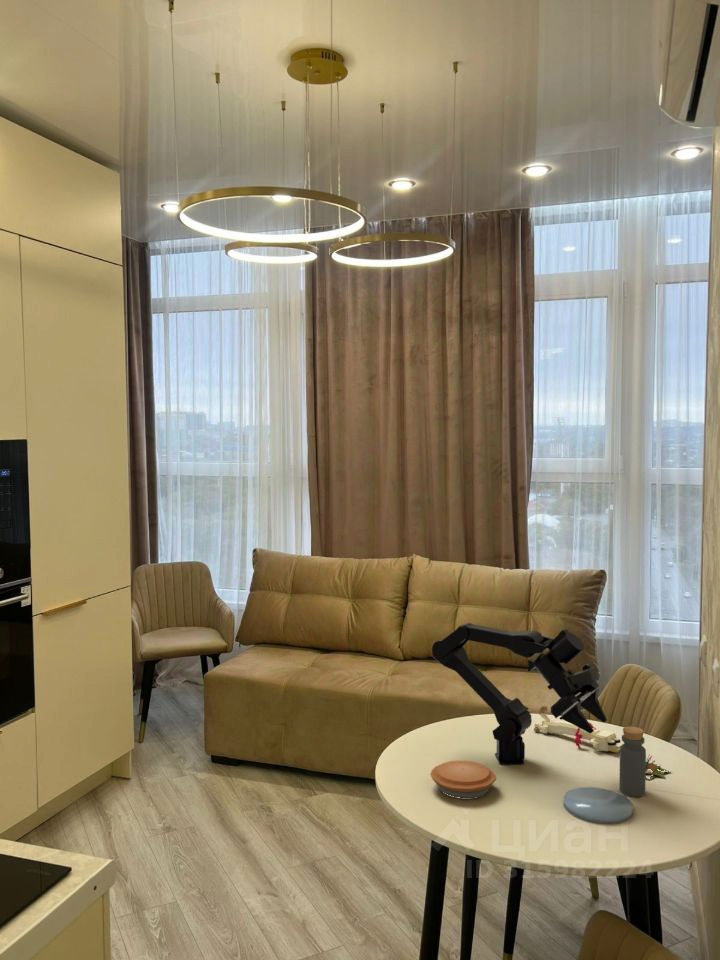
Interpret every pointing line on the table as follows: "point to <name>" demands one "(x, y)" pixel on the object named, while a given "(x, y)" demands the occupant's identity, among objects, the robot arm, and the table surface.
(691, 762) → the table surface
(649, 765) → the lily flower
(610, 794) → the dish
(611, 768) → the table surface
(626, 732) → the bottle
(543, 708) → the cat figure
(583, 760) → the table surface
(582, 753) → the table surface
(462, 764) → the pie
